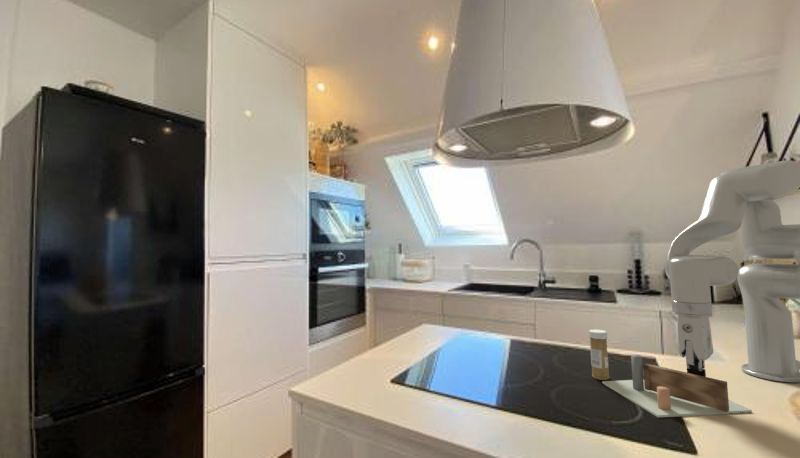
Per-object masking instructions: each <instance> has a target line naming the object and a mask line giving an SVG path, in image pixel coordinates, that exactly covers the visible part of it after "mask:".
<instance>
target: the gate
mask: <svg viewBox="0 0 800 458" xmlns="http://www.w3.org/2000/svg"><path fill="white" fill-rule="evenodd" d="M642 365H643V379H644V386H645V389H646V390H651V391H655V392H657V387H658V386H662V387H667V388H669V389H670V396H672V397H676V398H680V399H683V400H687V401H690V402H694V403H697V404H701V405H704V406H708V407H712V408H715V409H717V410H720V411H724V412H728V411H729V401H728V400H729V390H728V381H725V380H720V379H717V378H712V377H707V376H706V377H704V376H700V375H695V374H691V373H687V371H681V370H677V369H673V368H668V367H664V366H659V365H656V364H652V363H642Z"/></svg>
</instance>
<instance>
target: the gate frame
mask: <svg viewBox="0 0 800 458" xmlns="http://www.w3.org/2000/svg"><path fill="white" fill-rule="evenodd" d="M630 359H631V372H632V373H631V377H632V379H627V380H626V379H624V380H601V381H602V382H601V383H602V384H603V385H604V386H606V387H608V388H610V389H611V390H613V391H614V392H615V393H618V394H620V395H621V396H622V397H624V398H625V399H627V400H629V401H630V402H632V403H633V404H635V405H637V406H638V407H640V408H641V409H643V410H645V411H647V412H648V413H650V414H651V415H653V416H654V417H656V418H659V419H660V418H675V417H694V416H709V415H710V416H711V415H713V416H714V415H730V414H729V413H733V414H743V413H742V412H751V413H753V410H752V409H750V408H748V407H745V406H743V405H740V404H738V403H736V402H735V401H732V400H730V399H728V401H729V411H728V412H724V411H720V410H717V409H715V408H712V407H708V406H704V405H701V404H697V403H694V402H690V401H687V400H683V399H680V398H676V397H672V396H670V389H669V388H667V387H662V386H658V387H657V392H655V391H651V390H646V389H645V386H644V370H643V356H642V355H639V354H631V355H630ZM740 412H741V413H740Z"/></svg>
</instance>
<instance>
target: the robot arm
mask: <svg viewBox="0 0 800 458" xmlns="http://www.w3.org/2000/svg"><path fill="white" fill-rule="evenodd" d="M798 189H800V164H799V163H798V162H797V161H794V160H790V159H788V160H781V161H780V160H779V161H773V162H767V163H762V164H761V163H760V164H755V165H749V166H742V167H737V168H733V169H729V170H726V171H724V172H722V173H720V174H719V175H717V176H715V177H714V178H712V179H711V181H710V182H709V184H708V187H707V192H706V194H705V198H704V200H703V204H702V207H701V210H700V214H699V218H698V219H697V220H696V221H695V222H693V223H691V224H690V225H689V226H688V227H686V228H685V229H684V230H682V232H680V233H679V234H678V235H677V236H676V237H675V238H674V239H673V241H672V242H671V243H670V246H669V249H668V252H667V255H666V257H665V264H664V271H665V275H666V277H667V278H668V279H669V281H670V282H669V283H670V295H671V311H672V313H671V314H672V315H676V316H677V317H676V318H677V319H676V320H677V321H676V322H677V323H676V324H677V346H678V352H679V353H678V354H679V355H680V356H681V358H685V364H686V373H691V374H695V375H700V376H704V377H707V375H706V374H707V372H706V369H705V367H706V365H705V363H706V362H705V361H707V360H708V359H709V358H710V357H711V356H712V355H713V354H714V345H713V337H712V330H711V323H710V318H712V317H713V307H712V306H713V305H712V293H711V286H712V287H726V286H729V285H731V284H733V283H734V282H735V281H736V280H737V284H738V287H739V289H740V293H741V297H742V302H743V311H744V323H745V333H746V334H745V335H746V337H745V338H746V349H747V359H748V361H747V362H748V363H744V364H742V365H741V370H742V372H744V373H746V374H748V375H750V376H752V377H757V378H760V379H764V380H768V381H775V382H781V383H800V360H797V359H796V358H797V357H796V347H795V336H794V325H793V323H794V322H793V315H792V313H791V311H790V309H789V308H788V306H786V305H785V304H784V302H783V301H781V300H780V299H788V300H789V299H790V300H800V223H799V224H797V223H795V224H783V222H782V216H781V215H782V214H781V209H780V206H779V204H778V203H776V201H774V200H777V199H780V198H783V197H786V196H788V195H790V194H792V193H794V192H796V191H797V190H798ZM739 230H740V240H741V247H742V250H743V251H742V252H743V253H744V254H745V256H747V257H748V258H749V257H750V258H752V259H762V260H763V259H765V260H795V261H796V262H797V264H795V263H794V264H791V263H789V264H788V263H763V262H762V263H761V262H760V263H757V262H756V263H750V264H746V265H743V266H741V267H740V268H738V265H737V263H736V262H735V261H734V260H732V259H731V258H730V257H727V256H723V255H704V254H703V255H702V254H701V255H700V254H696V255H695V254H694V255H692V254H691V253H693V251H694V250H696V249H697V248H699V247H700V246H702V245H704V244H706V243H709V242H712V241H715V240H718V239H720V238H723V237H726V236H728V235H731V234H734V233H735V232H737V231H739Z"/></svg>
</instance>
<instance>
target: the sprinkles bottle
mask: <svg viewBox="0 0 800 458" xmlns="http://www.w3.org/2000/svg"><path fill="white" fill-rule="evenodd" d="M588 335H589V342H590V343H589V344H590V365H591V376H592V378H593V379H595V380H599V381H609V380H610V377H611V376H610V374H609V373H610V371H609V356H608V345H607V343H608V340H607V339H608V333H607V331H606V330H604V329H603V330H602V329H590V330H588Z"/></svg>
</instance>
